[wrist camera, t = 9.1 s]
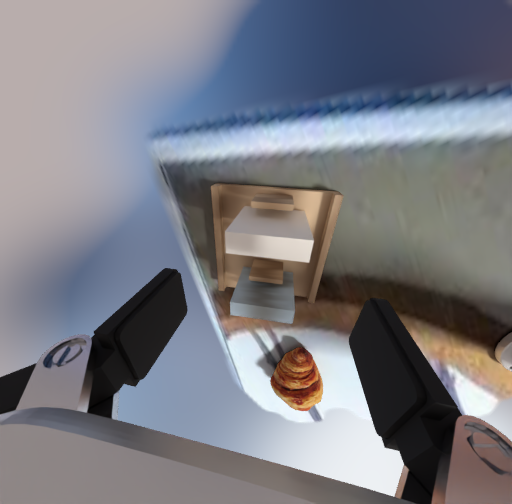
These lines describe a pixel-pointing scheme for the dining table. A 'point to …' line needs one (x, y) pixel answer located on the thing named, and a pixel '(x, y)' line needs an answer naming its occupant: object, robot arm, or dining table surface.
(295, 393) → the croissant
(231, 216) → the dish rack
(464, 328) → the dining table surface
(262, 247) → the low beige gift box
